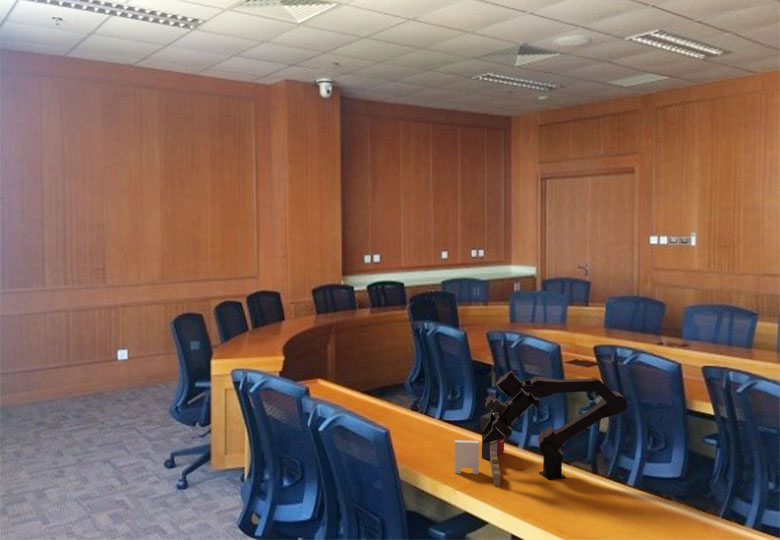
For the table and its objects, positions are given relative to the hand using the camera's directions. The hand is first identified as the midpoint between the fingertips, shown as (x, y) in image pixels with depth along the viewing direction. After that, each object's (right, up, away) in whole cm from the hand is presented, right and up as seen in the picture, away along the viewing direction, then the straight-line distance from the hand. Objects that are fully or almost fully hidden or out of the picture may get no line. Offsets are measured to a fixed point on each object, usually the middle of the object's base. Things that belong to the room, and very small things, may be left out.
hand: (482, 438), depth 221 cm
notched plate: (-5, -12, +1) cm, 13 cm away
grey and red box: (+6, -11, +18) cm, 22 cm away
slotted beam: (+4, -12, 0) cm, 13 cm away
